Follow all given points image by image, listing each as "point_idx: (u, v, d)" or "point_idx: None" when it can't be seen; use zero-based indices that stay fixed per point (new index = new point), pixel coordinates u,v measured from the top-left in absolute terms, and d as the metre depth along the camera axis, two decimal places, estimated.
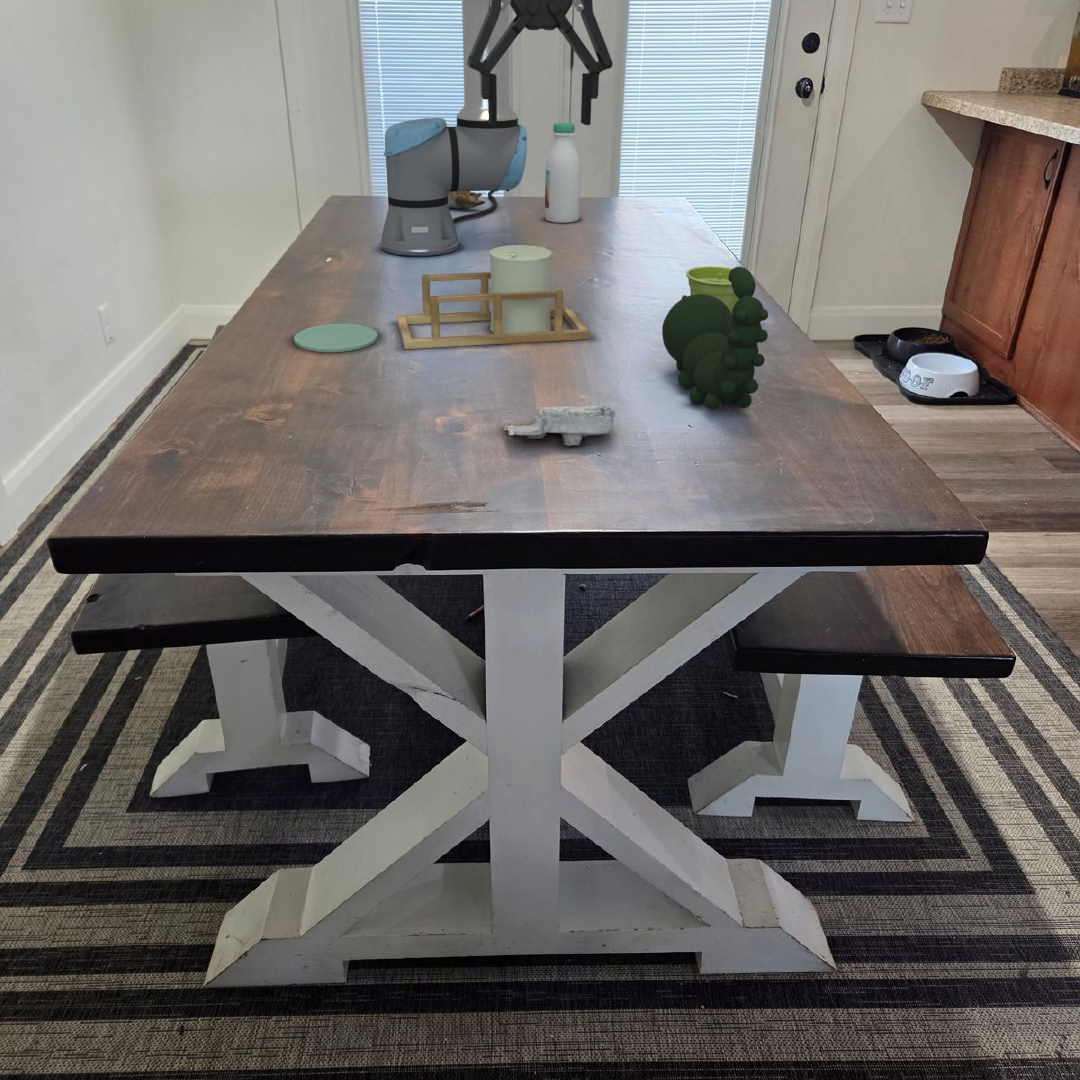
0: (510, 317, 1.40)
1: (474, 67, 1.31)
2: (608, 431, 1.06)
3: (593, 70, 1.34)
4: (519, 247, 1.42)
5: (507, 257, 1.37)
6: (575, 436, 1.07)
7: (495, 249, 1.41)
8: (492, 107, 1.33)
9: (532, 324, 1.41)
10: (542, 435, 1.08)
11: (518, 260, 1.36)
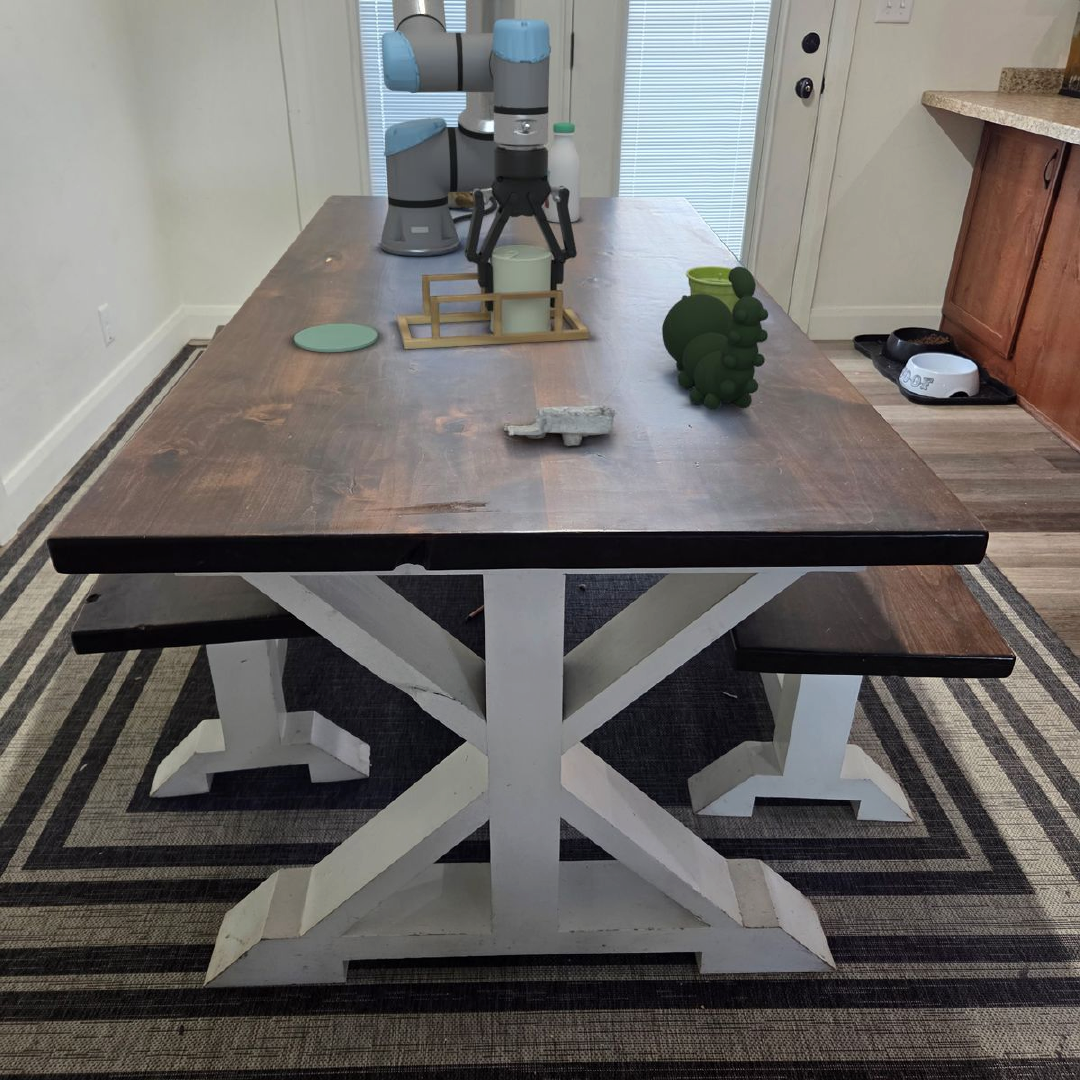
0: (510, 317, 1.40)
1: (472, 260, 1.38)
2: (608, 431, 1.06)
3: (558, 259, 1.40)
4: (519, 247, 1.42)
5: (507, 257, 1.37)
6: (575, 436, 1.07)
7: (495, 249, 1.41)
8: None
9: (532, 324, 1.41)
10: (542, 435, 1.08)
11: (518, 260, 1.36)
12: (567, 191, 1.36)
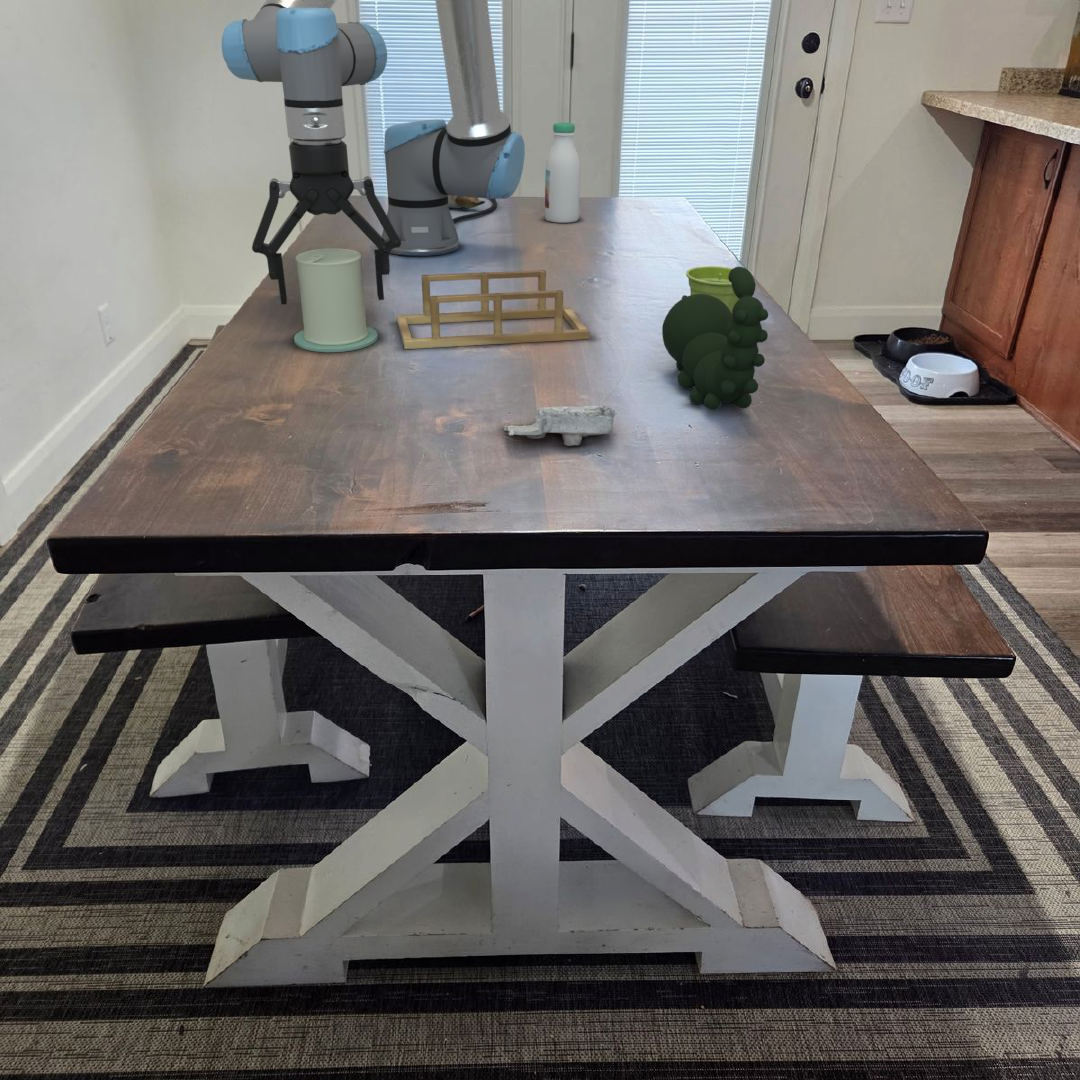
0: (318, 324, 1.35)
1: (257, 251, 1.31)
2: (608, 431, 1.06)
3: (381, 249, 1.34)
4: (331, 250, 1.37)
5: (310, 261, 1.31)
6: (575, 436, 1.07)
7: (304, 253, 1.36)
8: (280, 287, 1.34)
9: (342, 331, 1.35)
10: (542, 435, 1.08)
11: (320, 264, 1.30)
12: (369, 181, 1.29)
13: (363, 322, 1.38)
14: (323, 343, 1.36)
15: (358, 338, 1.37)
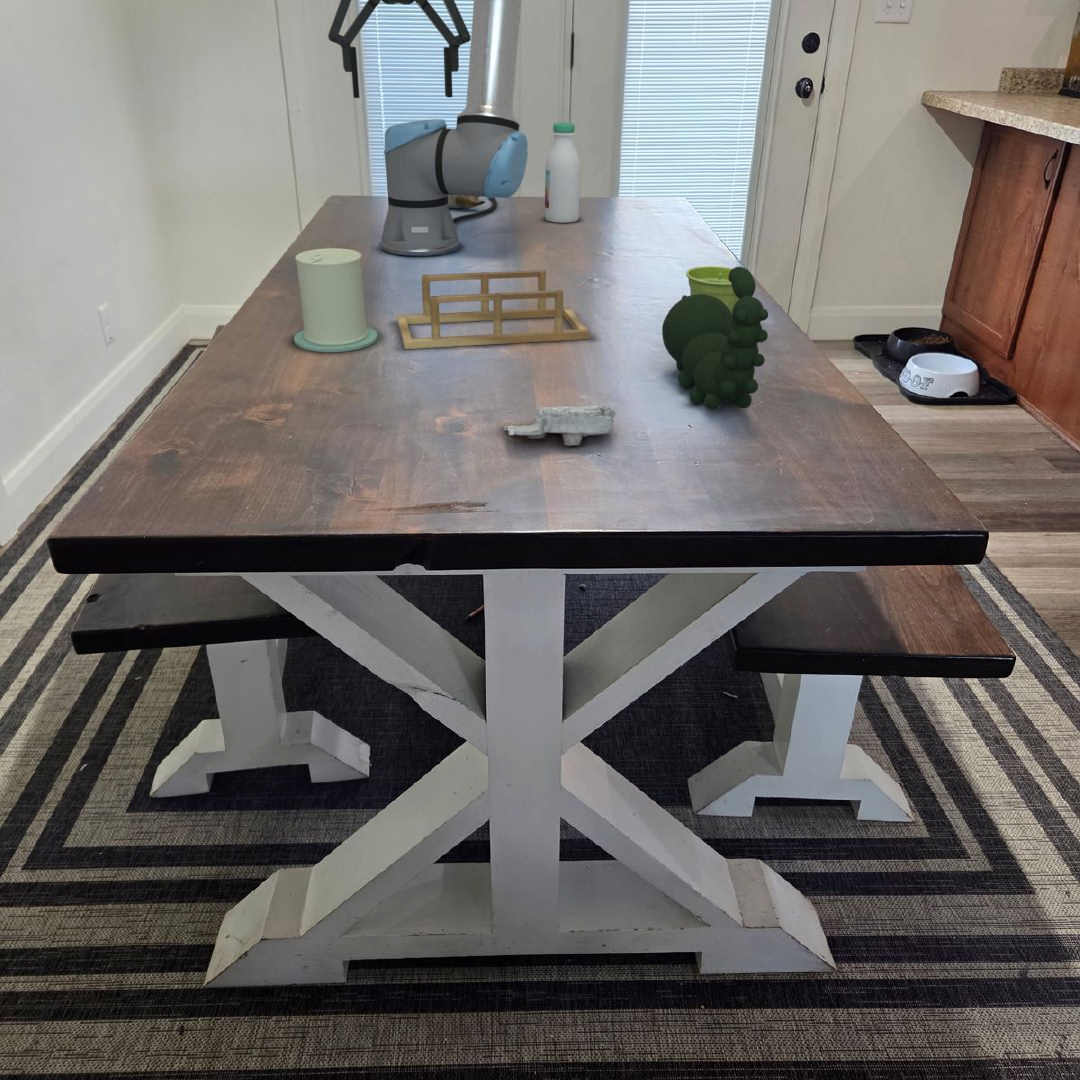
0: (318, 324, 1.35)
1: (333, 40, 1.35)
2: (608, 431, 1.06)
3: (452, 44, 1.39)
4: (331, 250, 1.37)
5: (310, 261, 1.31)
6: (575, 436, 1.07)
7: (304, 253, 1.36)
8: (353, 79, 1.38)
9: (342, 331, 1.35)
10: (542, 435, 1.08)
11: (320, 264, 1.30)
12: None
13: (363, 322, 1.38)
14: (323, 343, 1.36)
15: (358, 338, 1.37)
